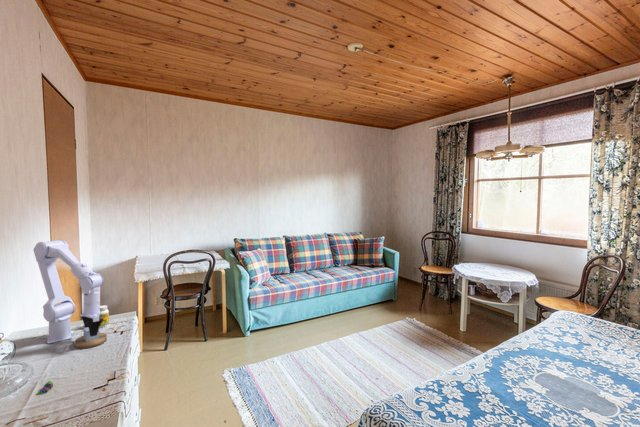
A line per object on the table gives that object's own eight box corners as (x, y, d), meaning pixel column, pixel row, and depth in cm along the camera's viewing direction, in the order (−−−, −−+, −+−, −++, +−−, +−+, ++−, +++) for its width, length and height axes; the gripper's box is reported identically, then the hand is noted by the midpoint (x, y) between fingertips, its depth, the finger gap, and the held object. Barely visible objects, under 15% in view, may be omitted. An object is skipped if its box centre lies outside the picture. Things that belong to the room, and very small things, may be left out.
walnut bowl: (73, 341, 128) (73, 337, 128) (104, 334, 136) (104, 330, 136) (75, 351, 120) (75, 347, 120) (108, 343, 128) (108, 339, 128)
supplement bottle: (109, 322, 149) (109, 304, 149) (108, 326, 144) (108, 307, 144) (95, 324, 146) (96, 305, 146) (94, 328, 142) (95, 309, 141)
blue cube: (83, 338, 128) (83, 328, 127) (95, 334, 131) (96, 325, 131) (86, 341, 125) (86, 331, 125) (98, 338, 128) (99, 328, 128)
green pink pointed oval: (42, 388, 98) (42, 382, 97) (52, 387, 98) (53, 381, 98) (34, 397, 94) (34, 389, 93) (44, 395, 94) (45, 388, 94)
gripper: (76, 300, 129) (75, 330, 129) (84, 309, 120) (84, 341, 120) (95, 296, 134) (94, 325, 135) (105, 304, 125) (104, 335, 126)
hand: (91, 332), depth 128 cm, fingers open, 7 cm apart
